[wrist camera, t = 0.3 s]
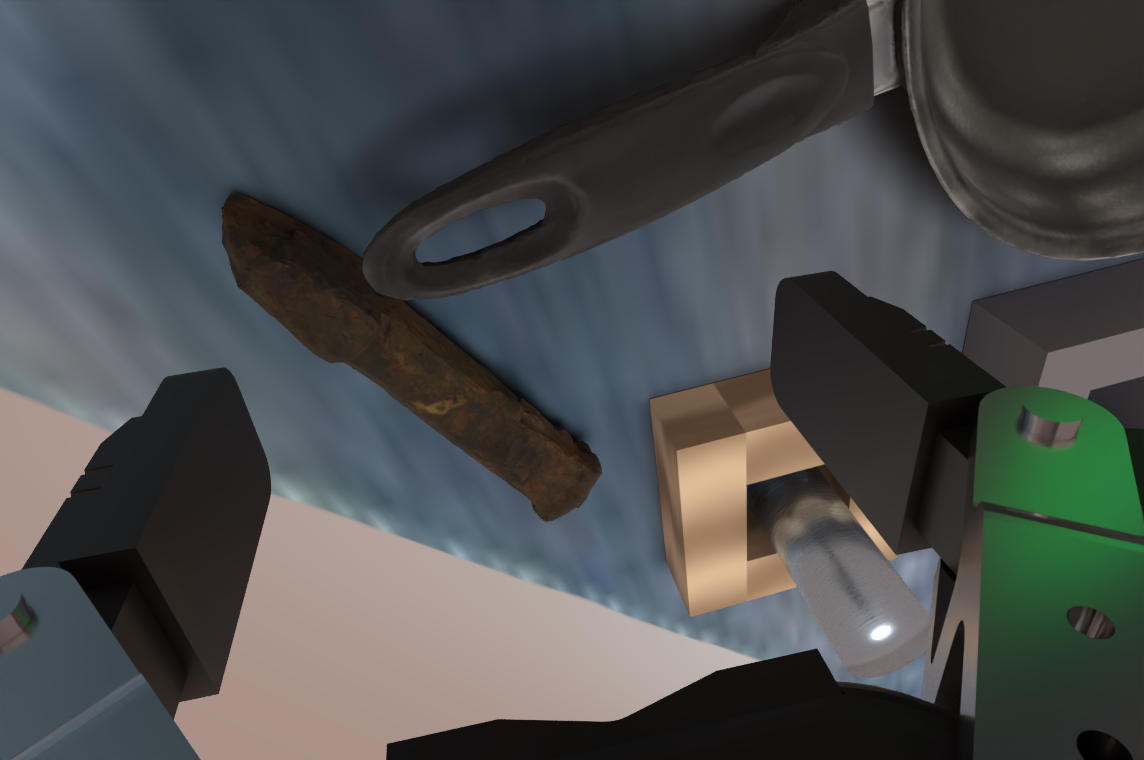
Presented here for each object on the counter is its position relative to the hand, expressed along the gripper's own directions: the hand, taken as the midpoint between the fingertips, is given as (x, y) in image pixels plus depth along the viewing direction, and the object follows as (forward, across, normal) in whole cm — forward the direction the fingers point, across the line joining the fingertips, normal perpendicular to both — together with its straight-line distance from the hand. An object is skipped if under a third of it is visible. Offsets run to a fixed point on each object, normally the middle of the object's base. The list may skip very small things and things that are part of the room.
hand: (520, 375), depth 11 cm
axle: (+20, -13, +20) cm, 31 cm away
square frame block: (+20, -13, +20) cm, 31 cm away
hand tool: (+19, +3, +10) cm, 22 cm away
